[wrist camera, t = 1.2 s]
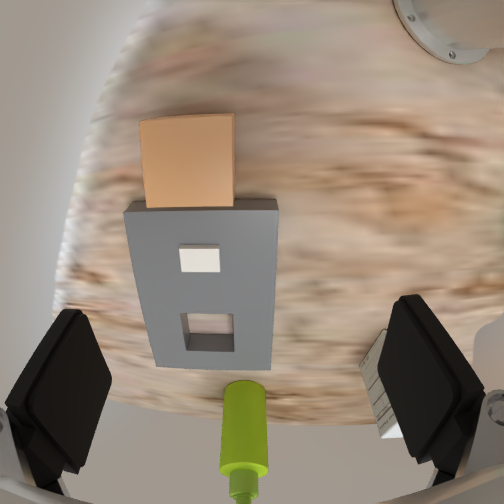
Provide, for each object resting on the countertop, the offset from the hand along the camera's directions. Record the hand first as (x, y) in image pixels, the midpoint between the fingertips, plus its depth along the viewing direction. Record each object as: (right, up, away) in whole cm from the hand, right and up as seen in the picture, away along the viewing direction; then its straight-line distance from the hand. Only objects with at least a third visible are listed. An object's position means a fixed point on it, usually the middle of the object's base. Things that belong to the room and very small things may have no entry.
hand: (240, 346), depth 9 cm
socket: (-4, -1, +26) cm, 26 cm away
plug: (-4, +12, +19) cm, 23 cm away
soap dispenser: (0, -17, +34) cm, 38 cm away
